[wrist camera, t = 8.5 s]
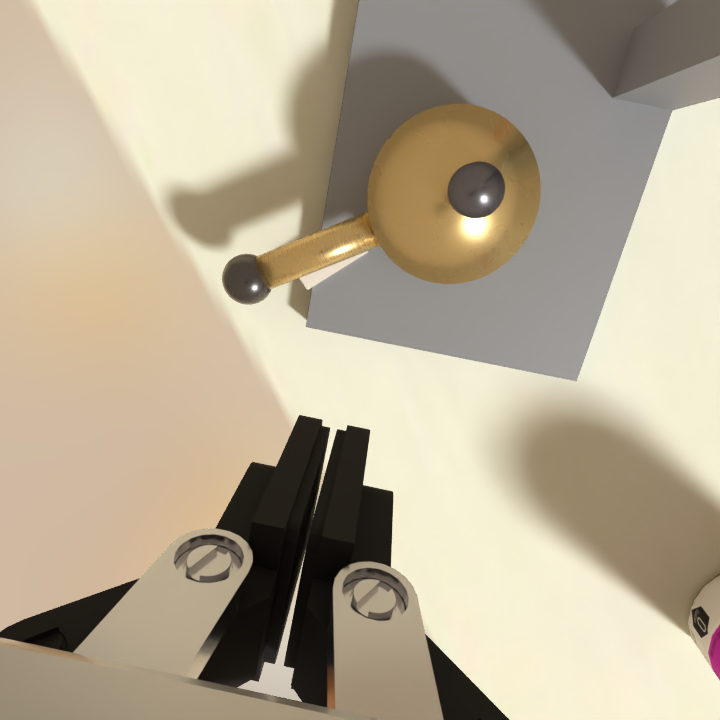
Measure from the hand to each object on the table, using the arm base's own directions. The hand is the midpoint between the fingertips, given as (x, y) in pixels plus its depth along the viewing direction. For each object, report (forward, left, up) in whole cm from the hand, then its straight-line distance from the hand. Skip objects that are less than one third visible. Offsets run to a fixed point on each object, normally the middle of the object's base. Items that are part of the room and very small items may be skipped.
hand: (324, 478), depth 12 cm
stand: (-8, +5, -20) cm, 22 cm away
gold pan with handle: (-4, 0, -18) cm, 19 cm away
